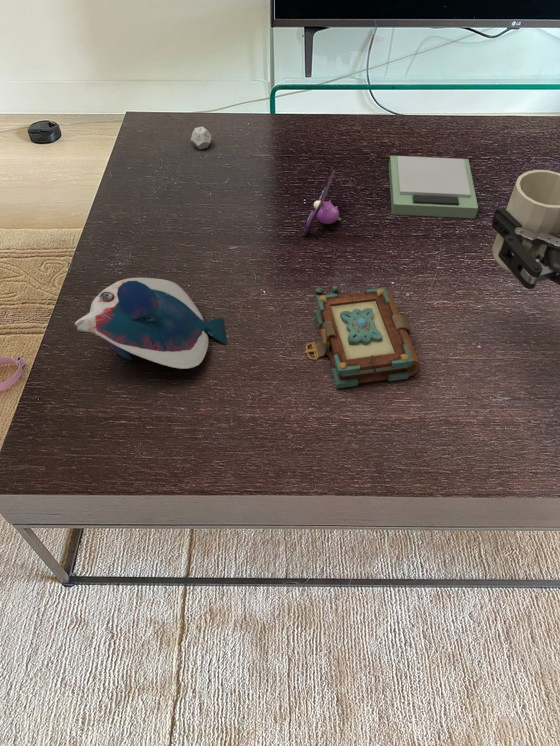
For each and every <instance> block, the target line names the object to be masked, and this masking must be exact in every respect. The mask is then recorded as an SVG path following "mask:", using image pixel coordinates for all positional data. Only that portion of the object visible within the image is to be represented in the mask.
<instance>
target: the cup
mask: <svg viewBox="0 0 560 746" xmlns="http://www.w3.org/2000/svg"><path fill="white" fill-rule="evenodd" d="M505 210H507V211H508V212H509V213H510V214H511V215H512V216H513V217H514V218H515V219H516V220H517V221H518V222H519V223H520V224H521V225H522V228H524V229H527V230H529V231H532V232H534V233H537V234H538V233H540V232H545V233H547V234H550V235H552V236H555V237H556V236H560V173H559V172H557V171H553V170H548V169H533V170H529V171H528V170H527V171H525V172H523V173H522V174H520V175H519V176H518V177H517V179H516V181H515V185H514V187H513V190H512V193H511V195H510V198H509V200H508V203H507V206H506V208H505ZM503 241H504V238H503V237H502V236H501V235H500V234H499V233H498V232H497V234H496V237H495V239H494V243H493V245H492V248H491V252H492V257H493V259H494V260H495V261H496V263H497V264H498V266H500V267H501V268H502V269H504V270H505V271H507V272H509V273H511V274H513V273H512V272H511V271H510V270H509V268H508V267H507V266H506V265H505V264H504V263H503V261H502V260H501V259H500V258H499V256H498V254H499V251H500V250H501V247H502V244H503ZM522 244H523V245H525V246H528V247H530V248H532V244H531V243H530V242H528V241H525V240H523V242H522ZM546 247H547V245H542V246H541V248H540V250H539V254H540V255H541V256H543V257H544V252H545V250H546ZM512 255H513V253H512ZM513 256H514V255H513Z"/></svg>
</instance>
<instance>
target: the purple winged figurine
mask: <svg viewBox="0 0 560 746" xmlns="http://www.w3.org/2000/svg"><path fill="white" fill-rule="evenodd" d="M335 173H336V170H335V169H332V171H331V172H330V175H329V177H328V179H327V180H326V183H325V184H324V187H323V188H322V190H321V192H320V194H319V196H318V198H317V199H316V200H315V201H314V202H313V210H311V212H310V214H309V216H308V219H307V220H306V225H305V227H304V232H303V235H302V236H303V237H306V236H307V234H308V233H309V231H310V229H311V227H312V225H313V224H314V221H315V220H316V219H317V220H318V221H319V222H320V223H321V224H325V225H331V224H334V223H335V222H337V221H338V222H340V221H341V220H342V218H340V211H339V209H338V205H336V206H334V204H333V203H332V200H331V199H330V200H328V201H327V200H326V201H325V198H326V196H327V195H328V194H327V193H328V191H329V188H330V186H331V184H332V181H333V178H334V176H335Z"/></svg>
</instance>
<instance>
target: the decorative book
mask: <svg viewBox="0 0 560 746" xmlns="http://www.w3.org/2000/svg"><path fill="white" fill-rule="evenodd" d="M331 289H332V291H333V293H330V294H326V291H325V290H324V289H323V288H321V287H316V288H315V293H317V294H321V295H316V304H317V308H318V309H315V318H316V321H317V324H318V325H317V326H318V328H319V331H320V334H321V338H320V340H319V341H318V342H315V341H313V342H309V343H307V344H306V345H305V350H304V353H305V354H306V355H307V357H308V358H309V360H313V361H317V360H319V358H322V357H324V356H327V357H328V358H329V361H330V365H331V367H332V369H331V374H332V377H333V383H334V385H335V388H336V389H343V388H350V387H357V386H358V385H359V384H364V383H365V384H366V383H374V382H380V381H388V382H395V381H401V380H408V379H409V377H411V376H413V375H415V374H416V373H418V372H419V370H420V368H421V362H420V360H419V358H418V356H417V353H416V350H415V349H414V345H413V343H412V341H411V338H410V335H411V331H412V330H411V328H410V325H409V323H408V321H407V318H406V316H405V315H403V314H401V313H400V310H399V308H398V305H397V303H396V300H395V298H394V295H393V293H392V291H391V290H389V289H386V288H385V287H379V288H371V289H366V290H365V291H361V292H353V293H352V292H350V293H346V294H345V293H344V294H343V293H342V292H341V291H340V289H339V288H338V286H337V285H332V287H331ZM336 292H338V293H339V294H337V293H336ZM309 346H311V347H312V348H308V347H309ZM310 353H313V355H314V357H312V356H311V355H310Z"/></svg>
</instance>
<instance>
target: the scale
mask: <svg viewBox="0 0 560 746" xmlns="http://www.w3.org/2000/svg"><path fill="white" fill-rule="evenodd" d="M388 175H389V176H388V178H389V192H390V205H391V206H390V207H391V208H390V209H391V215H394V216H395V215H397V216H415V217H436V218H438V217H439V218H454V219H455V218H457V219H476V217H477V215H478V210H479V205H478V200H477V195H476V190H475V186H474V185H475V184H474V180H473V175H472V169H471V165H470V160H469V158H451V157H431V156H429V157H428V156H408V155H390V156H389V161H388Z"/></svg>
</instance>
